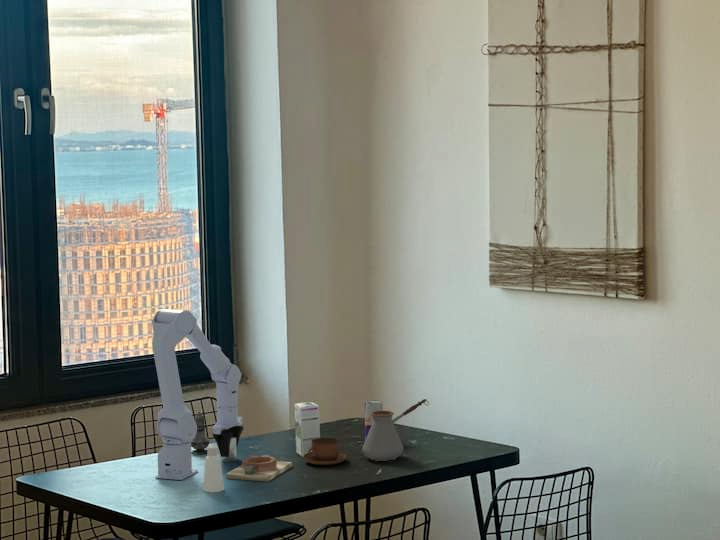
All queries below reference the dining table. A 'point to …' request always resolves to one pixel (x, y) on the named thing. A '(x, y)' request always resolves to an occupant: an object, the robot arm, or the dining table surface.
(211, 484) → the white squeeze bottle
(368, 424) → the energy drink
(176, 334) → the robot arm
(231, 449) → the cylinder
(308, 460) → the cup and saucer
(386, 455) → the coffee pot
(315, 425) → the syrup box
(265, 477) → the coupling stand
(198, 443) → the grey flanged cylinder
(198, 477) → the dining table surface
